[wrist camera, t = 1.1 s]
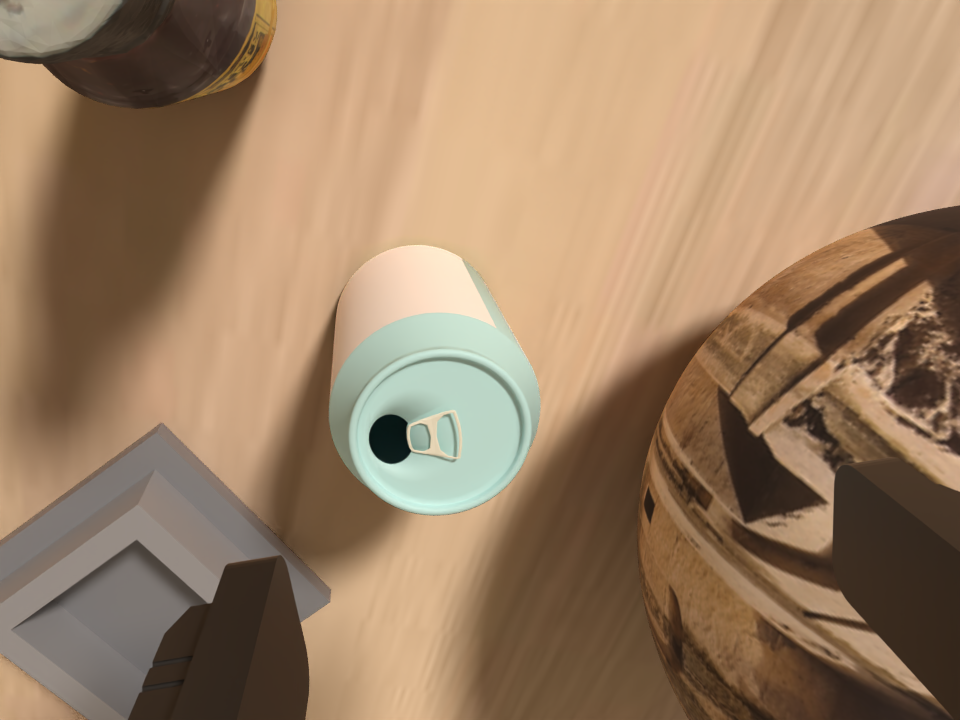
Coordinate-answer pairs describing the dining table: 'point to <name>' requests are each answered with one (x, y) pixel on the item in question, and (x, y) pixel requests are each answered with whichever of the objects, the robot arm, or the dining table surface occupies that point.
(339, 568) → the dining table surface
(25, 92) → the dining table surface
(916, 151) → the dining table surface
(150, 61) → the sauce bottle
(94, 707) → the holder
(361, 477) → the can
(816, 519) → the sphere
